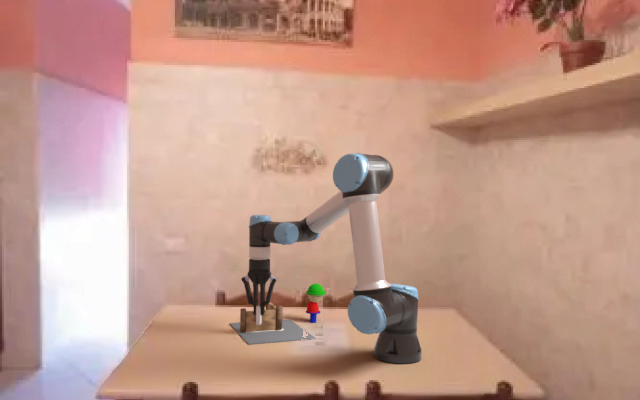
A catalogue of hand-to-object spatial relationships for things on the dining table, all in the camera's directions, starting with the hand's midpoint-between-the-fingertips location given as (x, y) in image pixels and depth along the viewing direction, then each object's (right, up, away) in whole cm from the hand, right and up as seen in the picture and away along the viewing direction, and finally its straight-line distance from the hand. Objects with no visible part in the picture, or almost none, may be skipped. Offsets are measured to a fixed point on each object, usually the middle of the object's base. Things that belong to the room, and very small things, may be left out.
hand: (258, 323), depth 204 cm
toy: (+20, -4, +20) cm, 29 cm away
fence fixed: (+4, -3, +11) cm, 13 cm away
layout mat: (+4, -4, +4) cm, 7 cm away
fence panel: (-1, -3, +2) cm, 4 cm away
